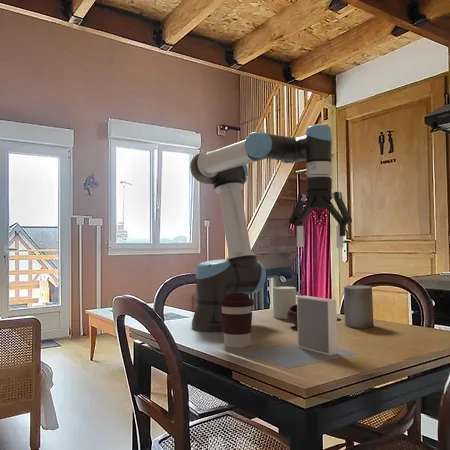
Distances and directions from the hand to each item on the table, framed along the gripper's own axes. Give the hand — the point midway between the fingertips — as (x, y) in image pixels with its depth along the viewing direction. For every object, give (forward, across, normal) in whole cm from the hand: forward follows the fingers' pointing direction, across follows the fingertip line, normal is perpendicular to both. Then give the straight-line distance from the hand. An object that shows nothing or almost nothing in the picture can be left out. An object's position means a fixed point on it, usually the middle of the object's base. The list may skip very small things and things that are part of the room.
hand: (319, 247), depth 144 cm
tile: (+27, +7, -14) cm, 32 cm away
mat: (+28, +6, -20) cm, 35 cm away
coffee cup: (+28, -14, -22) cm, 39 cm away
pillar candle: (+28, -2, +29) cm, 41 cm away
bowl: (+29, -17, +18) cm, 38 cm away
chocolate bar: (+29, -21, +38) cm, 52 cm away
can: (+29, -33, +30) cm, 53 cm away
